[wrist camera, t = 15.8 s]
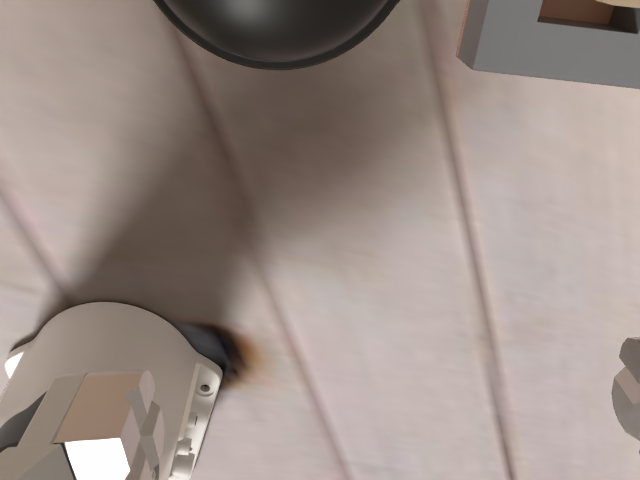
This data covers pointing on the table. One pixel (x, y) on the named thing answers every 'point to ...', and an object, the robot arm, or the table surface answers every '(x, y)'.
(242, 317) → the table surface
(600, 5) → the socket block
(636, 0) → the handle
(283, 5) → the water bottle
